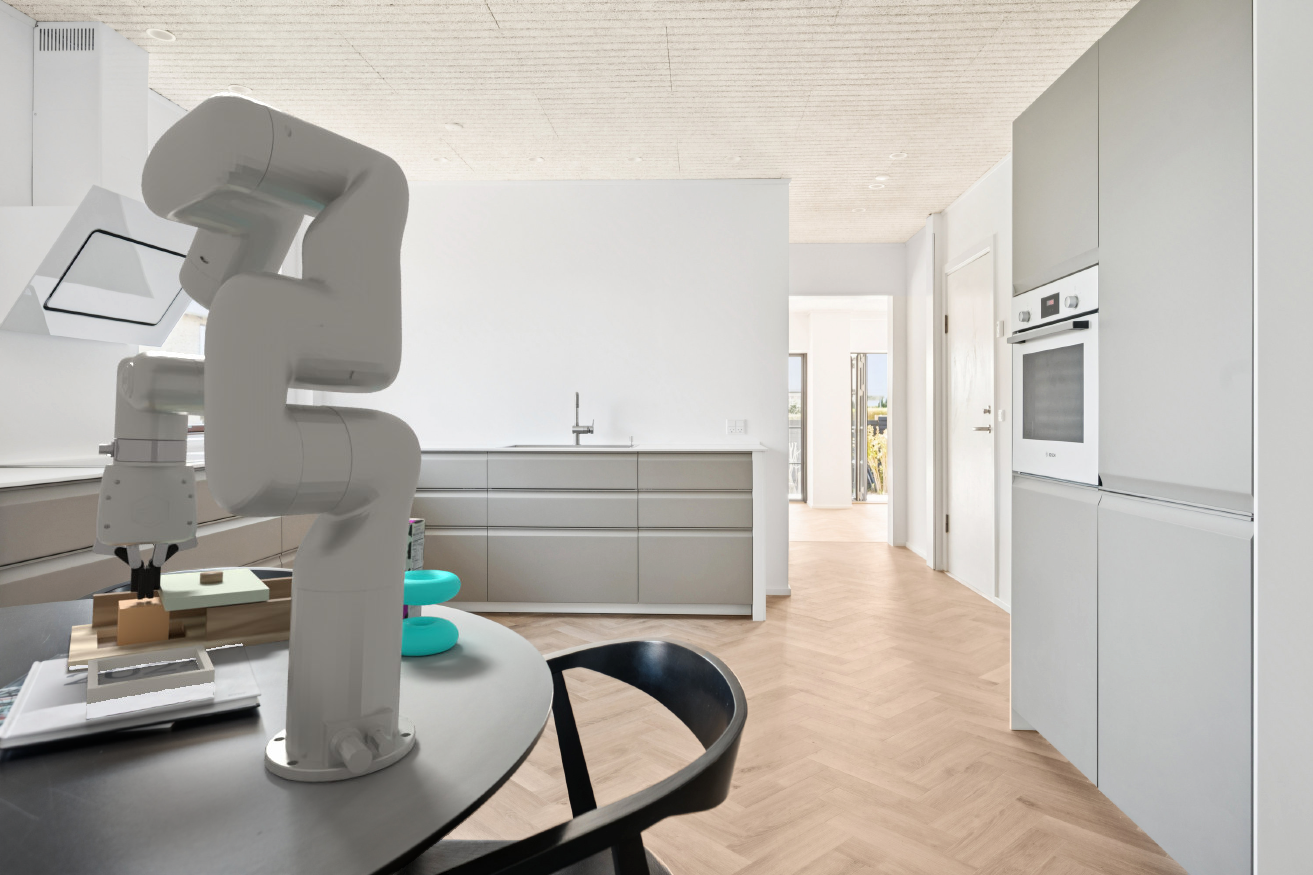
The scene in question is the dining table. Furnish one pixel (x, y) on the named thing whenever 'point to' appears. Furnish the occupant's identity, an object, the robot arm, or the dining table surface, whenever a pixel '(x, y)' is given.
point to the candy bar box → (414, 558)
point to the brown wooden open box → (187, 625)
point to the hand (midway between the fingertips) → (144, 596)
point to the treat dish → (152, 683)
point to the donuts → (425, 630)
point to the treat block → (142, 621)
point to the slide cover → (211, 589)
